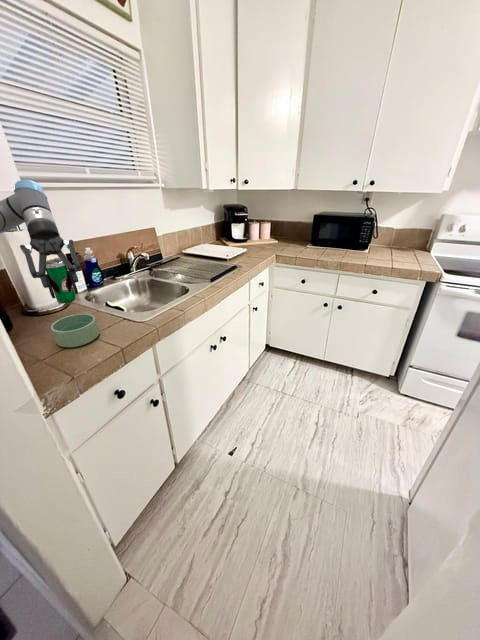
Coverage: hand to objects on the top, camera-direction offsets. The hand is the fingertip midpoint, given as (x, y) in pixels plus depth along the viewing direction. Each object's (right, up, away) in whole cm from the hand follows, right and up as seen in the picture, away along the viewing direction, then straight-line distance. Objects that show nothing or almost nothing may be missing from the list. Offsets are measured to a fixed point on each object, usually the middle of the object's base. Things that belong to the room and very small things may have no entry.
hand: (64, 293), depth 75 cm
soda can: (-2, -2, +4) cm, 5 cm away
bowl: (-2, -14, +10) cm, 17 cm away
